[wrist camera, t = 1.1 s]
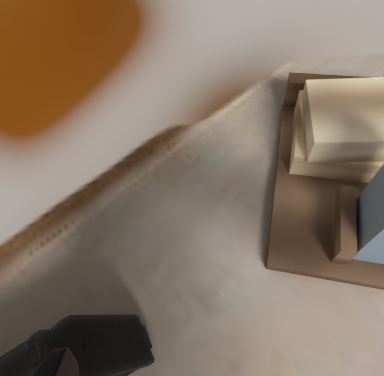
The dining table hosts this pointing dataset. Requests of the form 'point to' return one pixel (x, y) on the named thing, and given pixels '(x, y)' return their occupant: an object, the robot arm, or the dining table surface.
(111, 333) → the magazine
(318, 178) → the walnut rack
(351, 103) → the offcut stack
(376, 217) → the tall board
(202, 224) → the dining table surface
